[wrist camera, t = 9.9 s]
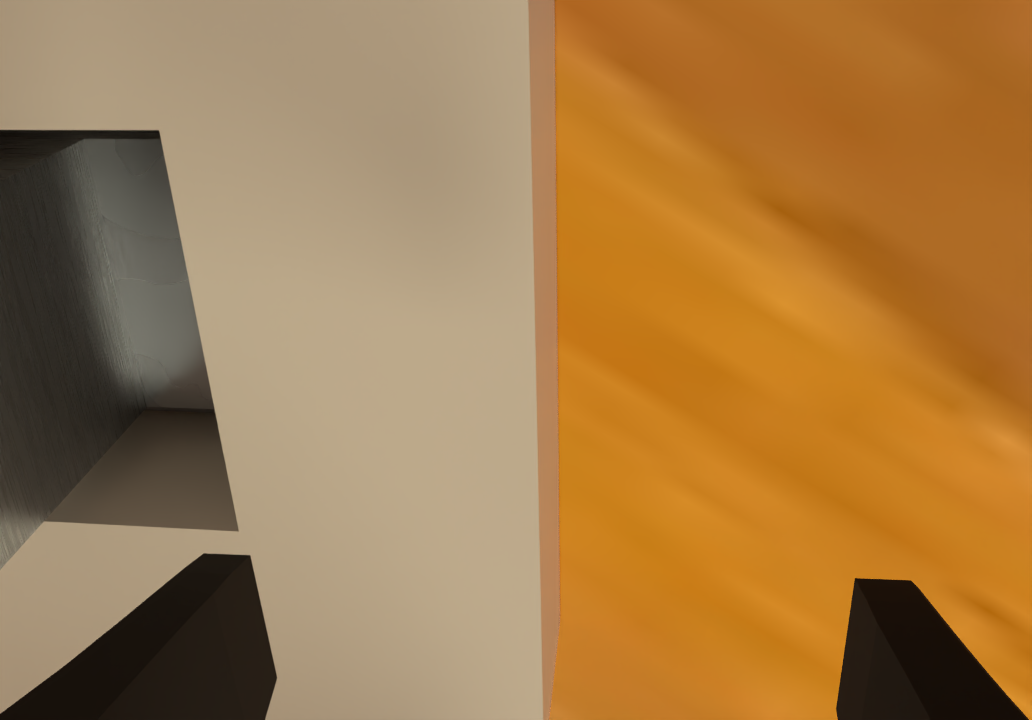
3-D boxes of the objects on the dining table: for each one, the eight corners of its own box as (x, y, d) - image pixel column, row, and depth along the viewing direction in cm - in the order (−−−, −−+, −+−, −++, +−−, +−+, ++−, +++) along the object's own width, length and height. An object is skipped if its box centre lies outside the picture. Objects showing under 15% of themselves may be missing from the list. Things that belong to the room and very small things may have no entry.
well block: (-140, 579, 28) (-272, 700, 24) (-499, -246, 18) (-816, -274, 14) (559, 621, 25) (544, 764, 21) (551, -299, 16) (521, -350, 12)
